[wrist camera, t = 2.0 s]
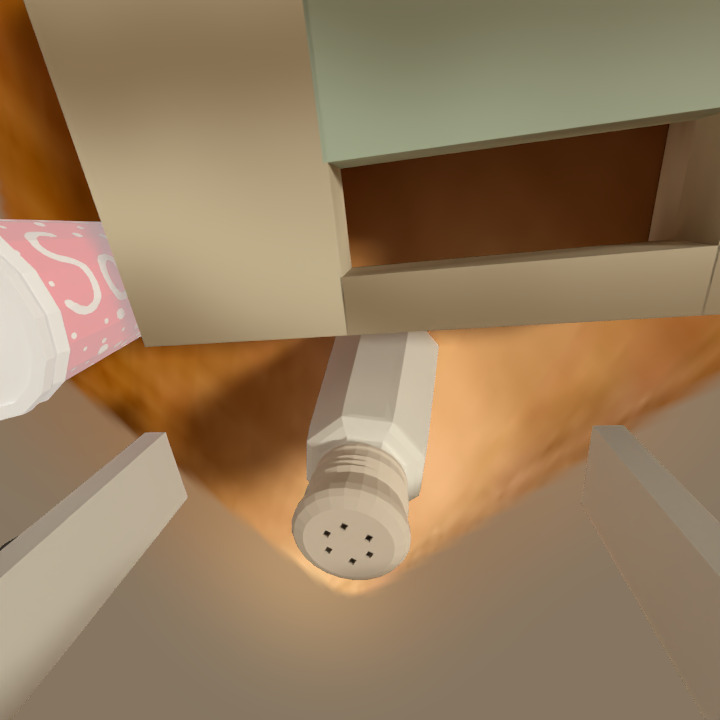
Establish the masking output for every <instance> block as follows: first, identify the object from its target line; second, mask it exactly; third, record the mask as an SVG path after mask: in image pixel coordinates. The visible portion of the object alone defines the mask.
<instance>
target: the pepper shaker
mask: <svg viewBox="0 0 720 720" xmlns="http://www.w3.org/2000/svg"><path fill="white" fill-rule="evenodd" d="M438 348H439V345H438V344H437V343H436V342H435V340H434V339H433V338H432V337H431V336H430V335H429V333H428V332H427V331H417V332H399V333H382V334H364V335H347V336H336V337H335V341H334V344H333V348H332V351H331V355H330V358H329V361H328V365H327V368H326V372H325V375H324V379H323V382H322V385H321V389H320V392H319V396H318V399H317V403H316V406H315V410H314V413H313V416H312V420H311V423H310V428H309V432H308V437H307V480H308V481H309V484H308V486H307V489H306V492H305V495H304V497H303V499H302V500H301V501H300V502H299V503H298V505H297V508H296V510H295V512H294V515H293V518H292V533H293V536H294V539H295V542H296V544H297V546H298V548H299V549H300V551H301V552H302V554H303V555H304V556H305V558H307V559H308V560H309V561H310V562H311V563H312V564H313V565H314V566H316V567H318V568H319V569H321V570H323V571H325V572H326V573H329V574H332V575H334V576H337V577H340V578H346V579H352V580H368V579H373V578H377V577H381V576H383V575H385V574H387V573H389V572H391V571H392V570H394V569H395V568H396V567H397V566H398V565H399V564H400V563H402V562H403V561H404V559H405V557H406V555H407V554H408V552H409V548H410V542H411V532H410V527H409V522H408V512H409V509H408V506H409V503H408V501H410V500H412V499H414V498H415V497H417V496H419V492H420V488H421V483H422V476H423V470H424V464H425V457H426V450H427V444H428V436H429V427H430V419H431V410H432V401H433V392H434V383H435V375H436V366H437V357H438Z"/></svg>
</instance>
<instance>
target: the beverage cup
mask: <svg viewBox="0 0 720 720" xmlns="http://www.w3.org/2000/svg"><path fill="white" fill-rule="evenodd" d="M139 337H141V334H140V331H139V328H138V325H137V322H136V320H135V317H134V314H133V311H132V308H131V305H130V302H129V300H128V297H127V294H126V291H125V288H124V285H123V282H122V280H121V277H120V274H119V271H118V268H117V265H116V263H115V260H114V257H113V254H112V251H111V248H110V245H109V243H108V240H107V237H106V234H105V231H104V228H103V226H102V223H101V222H88V221H50V220H12V219H0V420H3V419H7V418H10V417H14V416H18V415H22V414H25V413H27V412H29V411H30V410H32V409H33V408H34V407H35V406H36V405H37V404H38V403H40V402H44V401H47V400H48V399H49V398H50V397H51V396H52V395H53V393H55V391H56V390H57V389H58V388H59V387H60V386H61V385H62V384H63V383H64V381H65V380H67V379H69V378H71V377H72V376H74V375H76V374H77V373H79V372H81V371H82V370H84V369H86V368H88V367H89V366H91V365H93V364H94V363H96V362H98V361H100V360H101V359H103V358H105V357H106V356H108V355H110V354H112V353H113V352H115V351H117V350H118V349H120V348H122V347H123V346H125V345H127V344H129V343H130V342H132V341H134V340H135V339H137V338H139Z"/></svg>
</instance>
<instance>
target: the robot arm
mask: <svg viewBox="0 0 720 720" xmlns="http://www.w3.org/2000/svg"><path fill="white" fill-rule="evenodd" d="M187 498H188V496H187V493H186V490H185V488H184V485H183V482H182V479H181V476H180V473H179V470H178V467H177V464H176V461H175V459H174V456H173V453H172V450H171V447H170V444H169V441H168V438H167V435H166V433H165V432H149V433H144V434H143V435H141V436H140V437H139V438H138V439H137V440H135V441H134V442H133V443H132V444H131V445H129V446H128V447H127V448H126V449H124V450H123V451H122V452H121V453H119V454H118V455H117V456H116V457H115V458H113V459H112V460H111V461H110V462H109V463H107V464H106V465H105V466H104V467H102V468H101V469H100V470H99V471H97V472H96V473H95V474H94V475H93V476H91V477H90V478H89V479H88V480H86V481H85V482H84V483H83V484H82V485H80V486H79V487H78V488H77V489H76V490H74V491H73V492H72V493H71V494H69V495H68V496H67V497H66V498H64V499H63V500H62V501H61V502H60V503H58V504H57V505H56V506H55V507H53V508H52V509H51V510H50V511H49V512H47V513H46V514H45V515H44V516H42V517H41V518H40V519H39V520H37V521H36V522H35V523H34V524H33V525H31V526H30V527H29V528H28V529H27V530H25V531H24V532H23V533H22V534H20V535H19V536H17V537H16V538H14V539H12V540H11V541H9V542H7V543H6V544H4V545H3V546H2V547H1V548H0V720H12V718H13V717H14V716H15V715H16V713H17V712H18V710H19V709H20V708H21V707H22V706H23V704H24V703H25V702H26V701H27V699H28V698H29V697H30V696H31V694H32V693H33V692H34V691H35V689H36V688H37V687H38V686H39V684H40V683H41V682H42V681H43V679H44V678H45V677H46V675H47V674H48V673H49V672H50V670H51V669H52V668H53V667H54V665H55V664H56V663H57V662H58V660H59V659H60V658H61V657H62V655H63V654H64V653H65V652H66V650H67V649H68V648H69V647H70V645H71V644H72V643H73V641H74V640H75V639H76V638H77V636H78V635H79V634H80V632H81V631H82V630H83V629H84V628H85V626H86V625H87V624H88V623H89V621H90V620H91V619H92V618H93V616H94V615H95V614H96V612H97V611H98V610H99V609H100V607H101V606H102V605H103V604H104V602H105V601H106V600H107V598H108V597H109V596H110V595H111V594H112V592H113V591H114V590H115V589H116V587H117V586H118V585H119V583H120V582H121V581H122V580H123V579H124V577H125V576H126V575H127V573H128V572H129V571H130V570H131V568H132V567H133V566H134V564H135V563H136V562H137V561H138V560H139V558H140V557H141V556H142V554H143V553H144V552H145V551H146V550H147V548H148V547H149V546H150V545H151V543H152V542H153V541H154V539H155V538H156V537H157V536H158V534H159V533H160V532H161V531H162V529H163V528H164V527H165V526H166V524H167V523H168V522H169V521H170V519H171V518H172V517H173V516H174V514H175V513H176V512H177V511H178V509H179V508H180V507H181V505H182V504H183V503H184V502H185V500H186V499H187ZM581 505H582V506H583V508H584V510H585V511H586V513H587V515H588V517H589V519H590V520H591V522H592V524H593V526H594V527H595V529H596V531H597V533H598V534H599V536H600V538H601V540H602V541H603V543H604V545H605V546H606V548H607V550H608V552H609V554H610V555H611V557H612V559H613V560H614V562H615V564H616V566H617V567H618V569H619V571H620V573H621V574H622V576H623V578H624V580H625V581H626V583H627V585H628V587H629V588H630V590H631V592H632V594H633V595H634V597H635V599H636V600H637V602H638V604H639V606H640V608H641V609H642V611H643V613H644V615H645V616H646V618H647V620H648V621H649V623H650V625H651V627H652V628H653V630H654V632H655V634H656V635H657V637H658V639H659V641H660V642H661V644H662V646H663V648H664V649H665V651H666V653H667V655H668V656H669V658H670V660H671V662H672V663H673V665H674V667H675V669H676V670H677V672H678V674H679V675H680V677H681V679H682V681H683V682H684V684H685V686H686V687H687V689H688V691H689V693H690V694H691V696H692V698H693V700H694V702H695V703H696V705H697V707H698V709H699V710H700V712H701V714H702V716H703V717H704V719H705V720H720V523H719V522H718V521H717V520H716V519H715V518H714V517H713V516H712V515H711V514H710V513H709V512H708V511H707V510H706V509H705V508H704V507H703V506H702V505H701V504H700V503H699V501H698V500H697V499H696V498H695V497H694V496H693V495H692V494H691V493H690V492H689V491H688V490H687V489H686V488H685V487H684V486H683V485H682V484H681V483H680V482H679V481H678V480H677V479H676V478H675V477H674V476H673V475H672V474H671V473H670V472H669V471H668V470H667V469H666V468H665V467H664V466H663V465H662V464H661V463H660V462H659V461H658V460H657V459H656V458H655V457H654V456H653V455H652V454H651V453H650V452H649V451H648V450H647V449H646V448H645V447H644V446H643V445H642V444H641V443H640V442H639V441H638V440H637V439H636V438H635V437H634V436H633V435H632V434H631V432H630V431H629V430H628V429H627V428H626V427H625V426H624V425H608V426H593V427H592V434H591V441H590V448H589V454H588V461H587V468H586V475H585V482H584V489H583V496H582V502H581Z"/></svg>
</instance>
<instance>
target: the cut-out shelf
mask: <svg viewBox="0 0 720 720" xmlns="http://www.w3.org/2000/svg"><path fill="white" fill-rule="evenodd" d="M23 1H24V3H25V6H26V9H27V12H28V15H29V18H30V20H31V23H32V26H33V29H34V32H35V35H36V38H37V40H38V43H39V46H40V49H41V52H42V55H43V57H44V60H45V63H46V66H47V69H48V72H49V75H50V77H51V80H52V83H53V86H54V89H55V92H56V95H57V97H58V100H59V103H60V106H61V109H62V112H63V114H64V117H65V120H66V123H67V126H68V129H69V132H70V134H71V137H72V140H73V143H74V146H75V149H76V151H77V154H78V157H79V160H80V163H81V166H82V169H83V171H84V174H85V177H86V180H87V183H88V186H89V188H90V191H91V194H92V197H93V200H94V203H95V206H96V208H97V211H98V214H99V217H100V220H101V223H102V226H103V228H104V231H105V234H106V237H107V240H108V243H109V245H110V248H111V251H112V254H113V257H114V260H115V263H116V265H117V268H118V271H119V274H120V277H121V280H122V282H123V285H124V288H125V291H126V294H127V297H128V300H129V302H130V305H131V308H132V311H133V314H134V317H135V320H136V322H137V325H138V328H139V331H140V334H141V337H142V339H143V342H144V345H145V347H153V346H170V345H188V344H206V343H223V342H241V341H258V340H276V339H294V338H311V337H329V336H347V335H364V334H382V333H399V332H417V331H435V330H452V329H470V328H487V327H505V326H523V325H540V324H558V323H575V322H593V321H611V320H628V319H646V318H664V317H681V316H699V315H716V314H720V0H23ZM663 124H670V125H669V130H668V135H667V141H666V146H665V152H664V157H663V163H662V168H661V174H660V179H659V185H658V190H657V195H656V201H655V206H654V212H653V217H652V223H651V228H650V234H649V239H648V241H646V242H635V243H624V244H613V245H601V246H590V247H579V248H568V249H556V250H545V251H534V252H523V253H511V254H500V255H489V256H478V257H466V258H455V259H444V260H433V261H421V262H410V263H399V264H388V265H376V266H365V267H354V268H352V266H351V257H350V248H349V239H348V230H347V221H346V213H345V204H344V195H343V186H342V177H341V169H342V168H349V167H356V166H363V165H371V164H378V163H385V162H393V161H400V160H407V159H415V158H422V157H429V156H437V155H444V154H451V153H458V152H466V151H473V150H480V149H488V148H495V147H502V146H510V145H517V144H524V143H532V142H539V141H546V140H553V139H561V138H568V137H575V136H583V135H590V134H597V133H605V132H612V131H619V130H627V129H634V128H641V127H649V126H656V125H663Z"/></svg>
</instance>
